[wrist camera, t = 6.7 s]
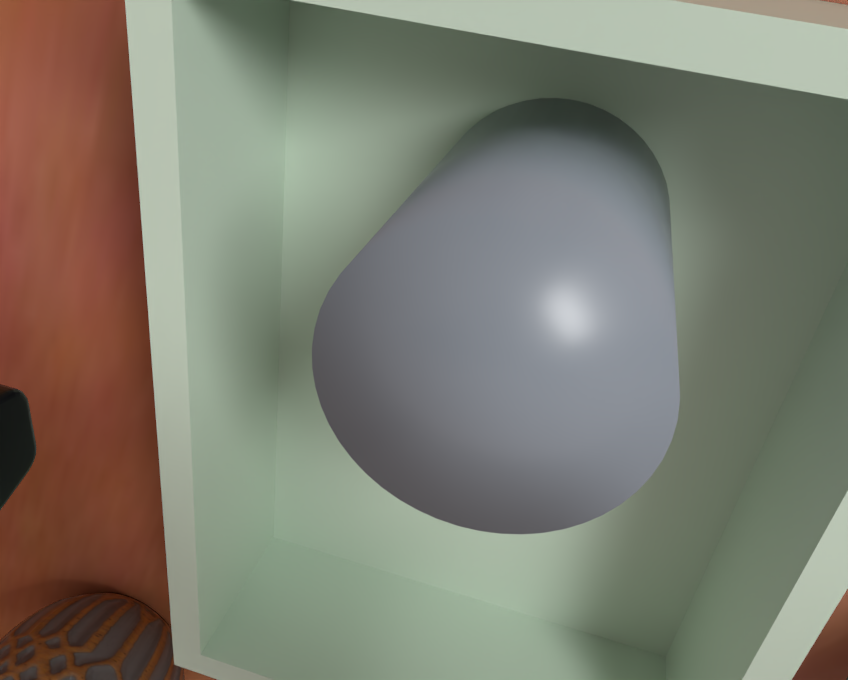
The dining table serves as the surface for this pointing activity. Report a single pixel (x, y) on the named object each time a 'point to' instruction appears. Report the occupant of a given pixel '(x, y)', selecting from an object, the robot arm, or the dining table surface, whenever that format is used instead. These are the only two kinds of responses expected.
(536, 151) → the grey canister
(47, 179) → the dining table surface
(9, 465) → the robot arm
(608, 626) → the tote
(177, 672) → the vase
